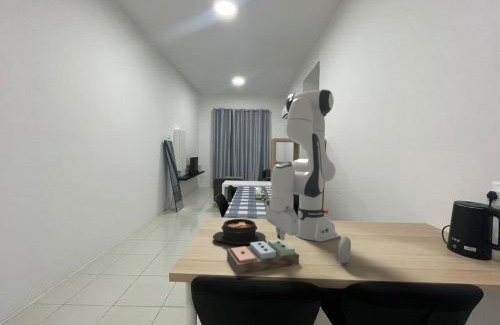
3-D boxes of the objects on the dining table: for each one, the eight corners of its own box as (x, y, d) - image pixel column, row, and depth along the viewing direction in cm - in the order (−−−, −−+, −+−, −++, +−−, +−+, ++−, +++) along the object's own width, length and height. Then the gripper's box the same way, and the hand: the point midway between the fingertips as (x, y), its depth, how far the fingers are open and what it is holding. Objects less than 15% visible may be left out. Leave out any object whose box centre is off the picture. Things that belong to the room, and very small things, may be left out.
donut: (346, 269, 88) (347, 242, 87) (336, 266, 90) (337, 240, 89) (351, 258, 96) (352, 234, 96) (342, 256, 98) (343, 232, 98)
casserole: (209, 247, 105) (210, 228, 105) (215, 233, 124) (215, 217, 123) (267, 248, 105) (267, 229, 105) (264, 234, 124) (264, 217, 123)
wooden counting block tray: (281, 250, 104) (282, 242, 104) (298, 263, 91) (299, 254, 91) (226, 258, 95) (227, 249, 95) (237, 274, 82) (237, 264, 82)
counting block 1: (245, 254, 96) (245, 245, 96) (255, 266, 86) (255, 256, 86) (230, 256, 94) (230, 247, 94) (239, 269, 84) (239, 259, 84)
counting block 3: (280, 246, 102) (280, 238, 102) (294, 257, 92) (294, 248, 92) (267, 248, 100) (268, 239, 100) (280, 259, 90) (280, 250, 89)
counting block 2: (263, 248, 99) (263, 240, 99) (275, 260, 89) (275, 250, 89) (249, 250, 97) (250, 242, 97) (260, 262, 87) (261, 252, 87)
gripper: (303, 210, 86) (302, 248, 87) (277, 199, 105) (276, 230, 106) (288, 211, 84) (286, 250, 84) (264, 199, 103) (262, 231, 103)
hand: (280, 239), depth 95 cm, fingers closed
